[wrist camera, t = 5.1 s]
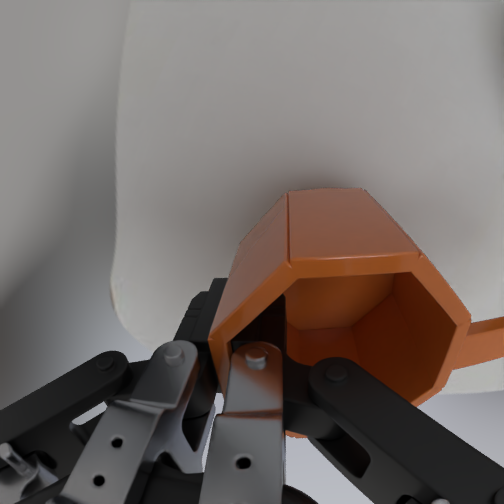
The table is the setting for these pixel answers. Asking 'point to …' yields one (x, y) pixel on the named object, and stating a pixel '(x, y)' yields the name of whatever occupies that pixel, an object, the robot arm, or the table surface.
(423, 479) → the robot arm
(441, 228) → the table surface
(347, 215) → the orange cup
